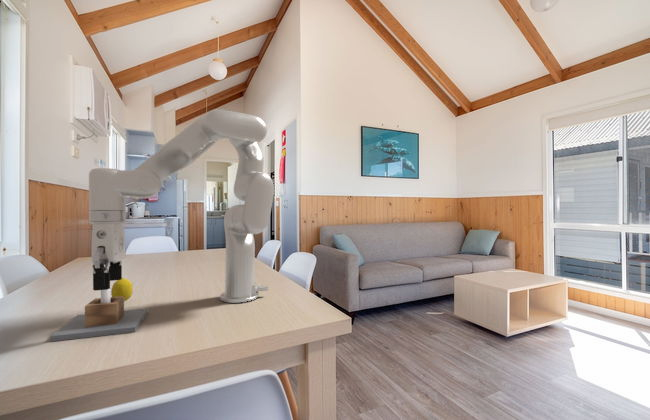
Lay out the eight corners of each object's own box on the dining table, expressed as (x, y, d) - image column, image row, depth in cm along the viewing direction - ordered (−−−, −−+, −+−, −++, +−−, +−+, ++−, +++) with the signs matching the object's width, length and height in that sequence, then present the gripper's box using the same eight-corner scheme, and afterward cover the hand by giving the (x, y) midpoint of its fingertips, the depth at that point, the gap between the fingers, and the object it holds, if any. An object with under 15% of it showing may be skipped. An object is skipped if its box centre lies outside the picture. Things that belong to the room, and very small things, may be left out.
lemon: (121, 306, 88) (122, 280, 88) (106, 305, 89) (106, 279, 89) (136, 301, 93) (137, 276, 93) (122, 300, 94) (122, 275, 95)
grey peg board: (147, 312, 83) (147, 280, 83) (135, 331, 70) (135, 293, 70) (77, 319, 78) (78, 284, 78) (50, 341, 64) (51, 299, 65)
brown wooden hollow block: (123, 315, 78) (124, 296, 78) (116, 323, 72) (116, 303, 72) (94, 317, 76) (95, 298, 76) (84, 327, 70) (85, 306, 70)
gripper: (115, 218, 67) (115, 292, 68) (133, 216, 84) (134, 276, 84) (74, 219, 65) (75, 295, 65) (102, 216, 81) (102, 278, 81)
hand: (108, 284), depth 74 cm, fingers open, 9 cm apart
